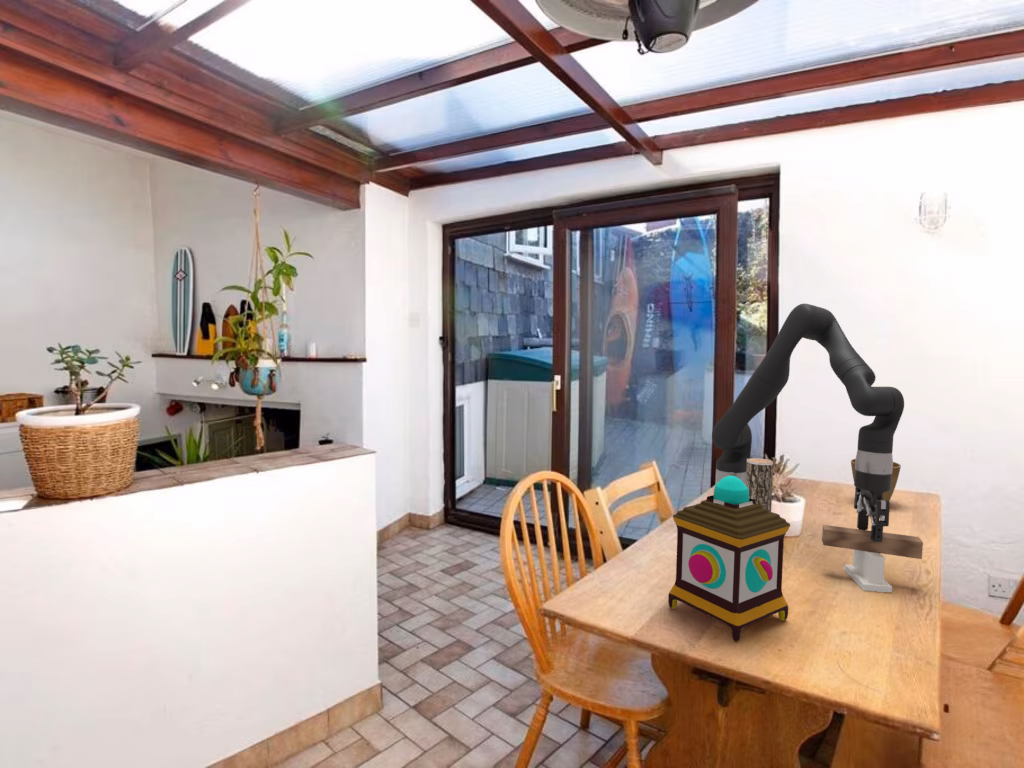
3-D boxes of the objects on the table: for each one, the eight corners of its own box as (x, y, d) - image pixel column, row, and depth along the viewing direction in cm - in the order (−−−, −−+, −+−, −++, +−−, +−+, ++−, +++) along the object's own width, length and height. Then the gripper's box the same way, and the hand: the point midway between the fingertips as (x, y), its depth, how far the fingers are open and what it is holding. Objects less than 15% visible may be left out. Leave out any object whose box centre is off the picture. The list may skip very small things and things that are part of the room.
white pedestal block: (862, 590, 130) (864, 557, 129) (844, 570, 142) (846, 539, 141) (891, 593, 129) (893, 559, 128) (870, 572, 140) (872, 541, 140)
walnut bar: (823, 545, 137) (824, 529, 137) (822, 540, 140) (822, 524, 140) (921, 559, 128) (922, 542, 128) (917, 553, 132) (918, 536, 132)
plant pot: (850, 498, 208) (852, 456, 207) (898, 505, 200) (901, 461, 198) (846, 507, 196) (849, 463, 195) (897, 515, 188) (900, 469, 186)
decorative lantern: (717, 586, 132) (721, 461, 129) (798, 622, 115) (805, 479, 113) (658, 607, 121) (662, 471, 119) (738, 649, 104) (744, 493, 102)
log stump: (769, 545, 158) (773, 459, 156) (769, 554, 152) (773, 464, 150) (743, 542, 161) (747, 457, 159) (742, 549, 155) (746, 461, 153)
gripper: (904, 477, 125) (899, 547, 126) (878, 463, 139) (874, 527, 140) (867, 475, 127) (863, 544, 128) (845, 462, 141) (841, 524, 142)
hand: (869, 535), depth 134 cm, fingers open, 8 cm apart
